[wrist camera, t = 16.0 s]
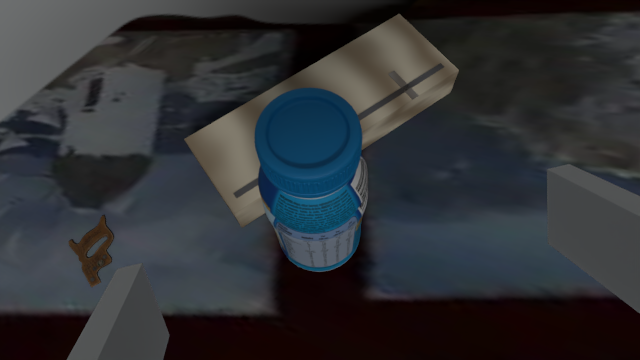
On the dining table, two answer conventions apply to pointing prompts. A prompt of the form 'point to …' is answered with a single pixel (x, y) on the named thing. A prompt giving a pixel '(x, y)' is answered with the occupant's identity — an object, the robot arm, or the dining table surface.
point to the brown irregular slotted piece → (100, 256)
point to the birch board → (342, 79)
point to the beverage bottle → (312, 176)
